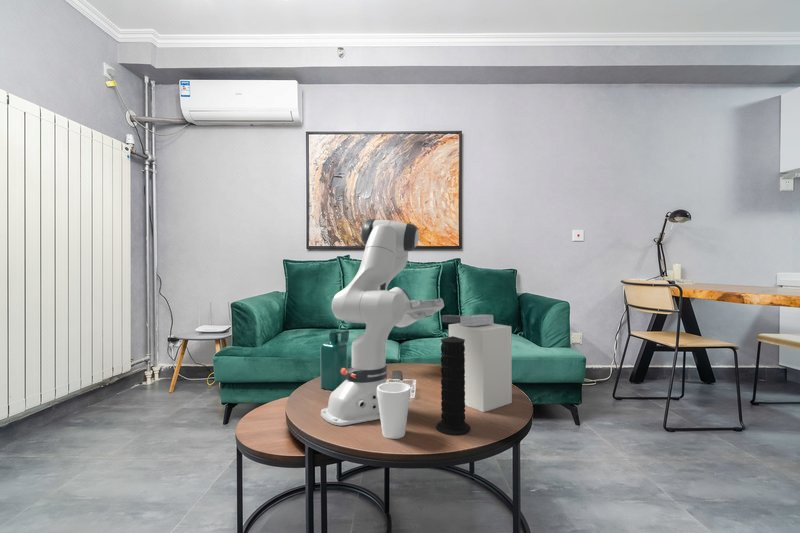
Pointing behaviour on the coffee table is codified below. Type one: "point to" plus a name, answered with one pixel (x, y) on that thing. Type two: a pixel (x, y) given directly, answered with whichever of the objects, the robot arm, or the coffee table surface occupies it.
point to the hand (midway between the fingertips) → (430, 301)
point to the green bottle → (333, 359)
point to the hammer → (469, 319)
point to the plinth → (486, 364)
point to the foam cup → (393, 408)
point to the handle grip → (453, 387)
